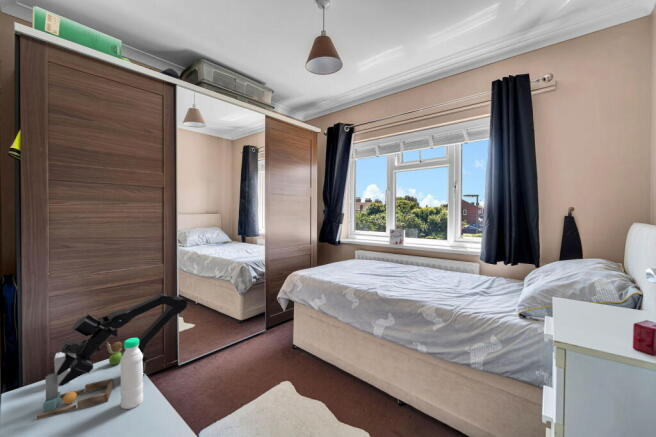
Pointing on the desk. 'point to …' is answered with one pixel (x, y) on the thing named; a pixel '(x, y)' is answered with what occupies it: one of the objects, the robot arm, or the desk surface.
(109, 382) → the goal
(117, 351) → the snail figurine
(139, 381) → the water bottle
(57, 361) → the skincare box
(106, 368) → the desk surface
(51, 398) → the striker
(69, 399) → the ball
